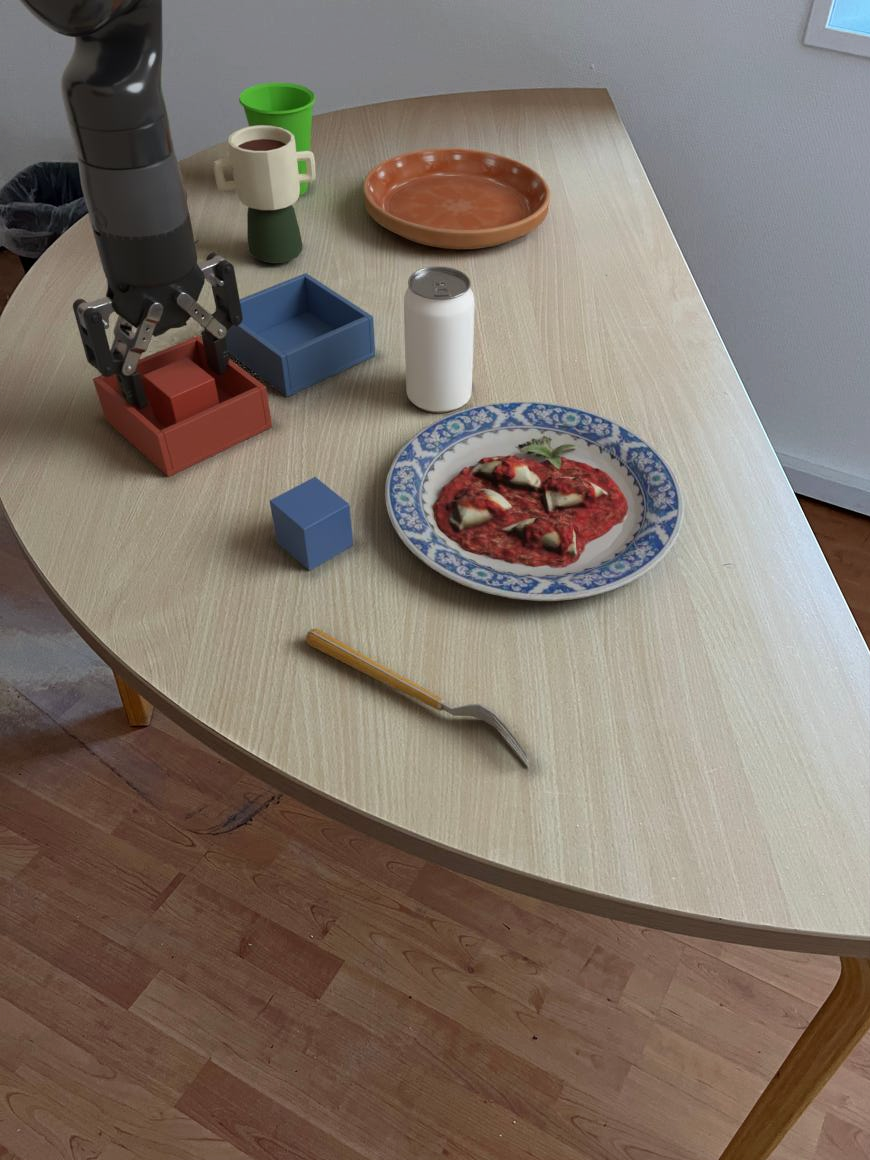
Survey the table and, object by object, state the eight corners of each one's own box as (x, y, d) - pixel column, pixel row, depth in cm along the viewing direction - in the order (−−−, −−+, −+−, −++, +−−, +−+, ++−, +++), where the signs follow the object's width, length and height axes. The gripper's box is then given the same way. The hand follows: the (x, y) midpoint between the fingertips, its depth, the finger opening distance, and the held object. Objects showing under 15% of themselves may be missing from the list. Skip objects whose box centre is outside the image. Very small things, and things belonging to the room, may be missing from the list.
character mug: (316, 235, 115) (305, 120, 105) (329, 263, 111) (318, 147, 101) (224, 246, 113) (204, 129, 103) (234, 275, 108) (214, 157, 99)
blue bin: (286, 397, 94) (281, 357, 90) (222, 348, 99) (214, 308, 95) (375, 355, 99) (373, 316, 96) (310, 311, 104) (306, 272, 101)
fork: (296, 636, 72) (527, 756, 65) (310, 618, 72) (541, 734, 65) (305, 653, 74) (530, 770, 67) (319, 634, 74) (543, 748, 68)
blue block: (309, 571, 78) (303, 529, 75) (276, 542, 80) (269, 500, 77) (353, 545, 80) (349, 504, 77) (320, 517, 83) (315, 476, 79)
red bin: (168, 477, 85) (157, 436, 82) (104, 419, 90) (91, 378, 87) (272, 427, 91) (266, 386, 87) (206, 375, 96) (198, 334, 92)
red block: (180, 440, 88) (170, 398, 85) (153, 417, 90) (142, 375, 87) (223, 420, 90) (214, 378, 87) (196, 398, 92) (186, 356, 89)
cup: (263, 210, 119) (250, 115, 111) (244, 179, 124) (230, 87, 116) (332, 199, 122) (325, 106, 113) (310, 169, 127) (302, 78, 118)
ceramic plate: (605, 664, 73) (610, 639, 71) (327, 542, 81) (323, 516, 78) (721, 478, 88) (728, 452, 86) (477, 390, 96) (478, 364, 93)
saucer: (486, 162, 130) (488, 133, 127) (583, 234, 118) (587, 204, 115) (333, 197, 122) (331, 167, 119) (420, 278, 109) (420, 247, 107)
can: (466, 374, 97) (469, 262, 88) (476, 412, 93) (481, 298, 84) (402, 378, 96) (399, 265, 87) (410, 417, 92) (407, 303, 83)
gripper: (192, 169, 80) (222, 342, 92) (29, 218, 73) (85, 397, 86) (243, 202, 77) (267, 377, 89) (77, 256, 70) (129, 438, 82)
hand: (178, 387), depth 87 cm, fingers open, 7 cm apart
